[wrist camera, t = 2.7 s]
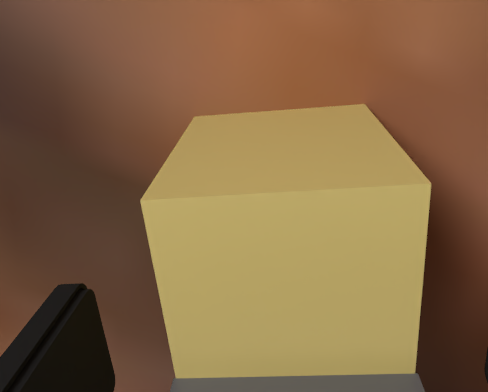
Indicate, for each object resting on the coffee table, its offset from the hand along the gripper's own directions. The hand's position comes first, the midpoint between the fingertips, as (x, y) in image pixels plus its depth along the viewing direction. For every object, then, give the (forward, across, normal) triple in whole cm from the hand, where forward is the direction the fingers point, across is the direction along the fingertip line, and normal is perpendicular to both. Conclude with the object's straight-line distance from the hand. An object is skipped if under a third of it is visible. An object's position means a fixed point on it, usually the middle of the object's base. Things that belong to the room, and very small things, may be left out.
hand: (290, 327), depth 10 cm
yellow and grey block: (+4, 0, -1) cm, 4 cm away
